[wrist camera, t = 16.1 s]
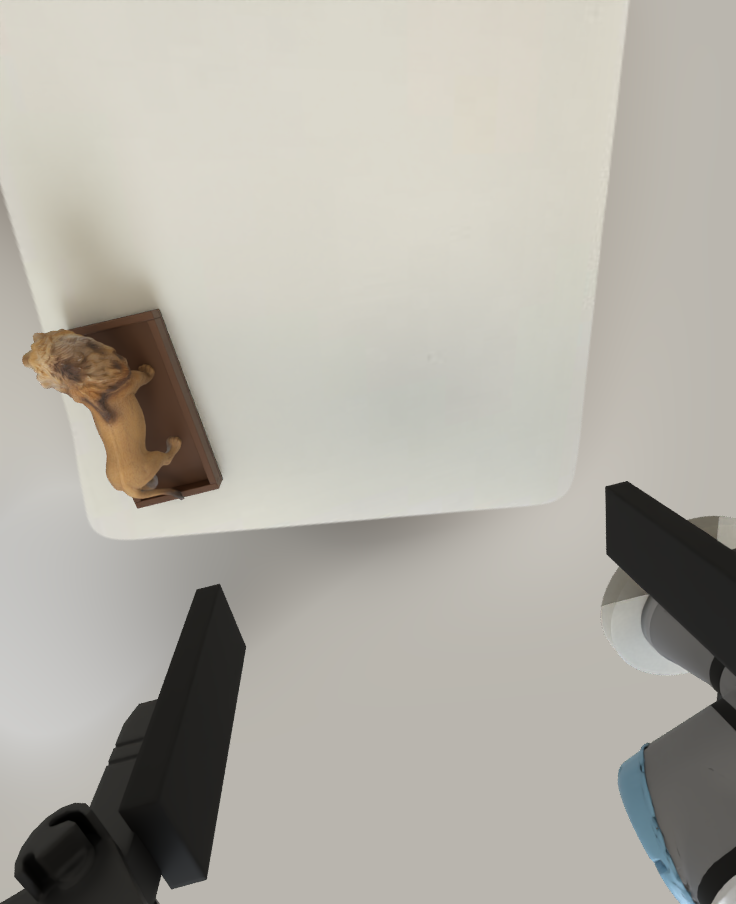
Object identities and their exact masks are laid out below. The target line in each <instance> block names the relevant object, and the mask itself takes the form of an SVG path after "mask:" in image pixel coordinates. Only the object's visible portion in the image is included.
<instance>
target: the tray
mask: <svg viewBox="0 0 736 904" xmlns="http://www.w3.org/2000/svg"><path fill="white" fill-rule="evenodd" d="M69 331H73V332H74V333H75V334H80V335H82V336H84V337H90V338H93V339H94V340H95V341H97V342H101V343H103V344H104V345H107V346H109V347H112V348H114V349H115V350H116V353H117V354H118V355H121V356H123V357H124V358H126V360H127V363H128V364H127V365H128V366H129V367H130V370H131V371H132V370H134V371H139V369H138V368H139V366H142V365H144V364H146V365H150V366H151V367H153V368H154V371H155V374H154V376H153V378H152V379H151V381H150V382H148V383H147V384H144V385H142V386H141V387H139V389H138V390H137V392H136V393H135V397H136V399H137V401H138V403H139V405H140V407H141V409H142V412H143V415H144V419H145V424H146V436H145V447H146V450H147V451H150V452H152V451H160V452H163V453H166V451H167V443H166V442H167V439H168V438H169V437H171V436H178V437H179V438H180V439H181V441H182V444H181V447H180V449H179V451H178V452H177V453H176V454H175V455H174V457H173V459H172V461H171V462H170V464H168V465H163V466H162V467H161V468H160V469H159V471H158V472H157V473H156V476H157V478H158V484H157V486H156V488H155V489H162V488H171V489H176V490H178V491H180V492H181V493H182V495H183V497H187V496H191V495H195V494H199V493H203V492H207V491H211V490H215V489H219V487H220V484H221V482H222V480H223V479H222V476H221V473H220V471H219V468H218V465H217V463H216V460H215V457H214V455H213V452H212V449H211V447H210V444H209V441H208V438H207V436H206V433H205V430H204V428H203V425H202V422H201V420H200V417H199V414H198V412H197V409H196V406H195V404H194V401H193V398H192V396H191V393H190V390H189V388H188V385H187V382H186V380H185V377H184V374H183V372H182V369H181V366H180V364H179V361H178V358H177V356H176V353H175V350H174V348H173V345H172V342H171V339H170V337H169V334H168V331H167V329H166V326H165V323H164V321H163V318H162V315H161V313H160V310H159V309H156V310H152V311H148V312H143V313H139V314H135V315H130V316H126V317H122V318H117V319H113V320H109V321H104V322H100V323H96V324H92V325H87V326H83V327H79V328H74V329H70V330H69ZM132 498H133V497H132ZM174 499H178V498H176V497H173V496H171V495H164V494H162V495H157V496H153V497H149V498H144V499H138V498H133V500H134V502H135V504H136V507H137V508H142V507H146V506H150V505H154V504H158V503H162V502H166V501H170V500H174Z"/></svg>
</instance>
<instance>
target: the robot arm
mask: <svg viewBox="0 0 736 904" xmlns="http://www.w3.org/2000/svg"><path fill="white" fill-rule="evenodd" d="M605 493H606V550H607V551H606V552H607V555H608V556H609V557H610V558H611V559H612V560H613V561H614V562H615V563H616V564H617V565H618V566H620V567H621V568H622V569H623V570H624V571H625V572H626V573H627V574H628V575H629V576H630V577H631V578H632V579H633V580H634V581H635V582H636V583H637V584H639V585H640V586H641V587H642V588H643V589H644V590H645V591H646V592H647V593H648V594H649V596H648V598H647V600H646V602H645V604H644V607H643V610H642V615H641V628H642V632H643V635H644V637H645V638H646V640H647V641H648V642H649V643H650V644H651V646H652V647H653V648H654V649H655V650H656V651H657V652H658V653H659V654H660V655H662V656H663V657H664V658H666V659H667V660H669V661H671V662H673V663H675V664H677V665H679V666H680V667H682V668H684V669H685V670H687V671H688V672H690V673H691V674H693V675H695V676H696V677H698V678H700V679H701V680H703V681H705V682H706V683H708V684H709V685H711V686H712V687H713V688H714V689H715V690H716V691H717V692H718V694H717V701H716V702H715V703H713V704H711V705H709V706H708V707H706V708H705V709H703V710H702V711H700V712H699V713H697V714H695V715H694V716H693V717H691V718H689V719H688V720H686V721H685V722H683V723H681V724H680V725H678V726H677V727H675V728H674V729H672V730H671V731H669V732H667V733H666V734H664V735H663V736H661V737H660V738H658V739H656V740H655V741H653V742H652V743H646V744H644V745H643V746H642V747H641V750H640V751H639V752H638V753H636V754H635V755H634V756H632V757H631V758H629V759H628V760H627V761H625V762H624V763H623V764H622V765H621V767H620V769H619V773H618V786H619V791H620V795H621V798H622V801H623V803H624V807H625V809H626V812H627V814H628V816H629V819H630V821H631V823H632V825H633V827H634V829H635V831H636V833H637V835H638V837H639V839H640V841H641V843H642V845H643V847H644V849H645V851H646V852H647V854H648V856H649V858H650V859H651V860H652V861H653V862H654V863H655V866H656V868H657V870H658V872H659V874H660V876H661V877H662V879H663V881H664V882H665V884H666V885H667V887H668V888H669V890H670V891H671V892H672V894H673V895H674V896H675V898H676V899H677V900H678V901H679V903H681V904H736V548H735V549H730V548H729V547H727V546H726V545H724V544H722V543H721V542H719V541H718V540H716V539H715V538H713V537H712V536H710V535H709V534H707V533H706V532H704V531H703V530H701V529H700V528H698V527H697V526H695V525H693V524H692V523H690V522H689V521H687V520H686V519H684V518H683V517H681V516H680V515H678V514H677V513H675V512H674V511H672V510H671V509H669V508H667V507H666V506H664V505H663V504H661V503H660V502H658V501H657V500H655V499H654V498H652V497H651V496H649V495H648V494H646V493H644V492H643V491H642V490H640V489H639V488H637V487H635V486H634V485H632V484H631V483H629V482H628V481H626V482H622V483H618V484H614V485H610V486H606V487H605ZM245 650H246V646H245V643H244V641H243V638H242V636H241V634H240V631H239V629H238V627H237V624H236V621H235V619H234V617H233V614H232V612H231V610H230V607H229V605H228V602H227V600H226V598H225V595H224V593H223V591H222V588H221V585H220V584H217V585H213V586H209V587H205V588H201V589H197V590H196V593H195V596H194V599H193V601H192V604H191V607H190V610H189V613H188V615H187V618H186V621H185V624H184V627H183V629H182V632H181V635H180V638H179V641H178V643H177V646H176V649H175V652H174V655H173V658H172V660H171V663H170V666H169V669H168V672H167V674H166V677H165V680H164V683H163V686H162V688H161V691H160V694H159V697H158V699H157V700H153V701H149V702H145V703H141V704H139V705H138V706H137V707H136V709H135V710H134V711H133V712H132V714H131V715H130V716H129V718H128V719H127V720H126V722H125V723H124V725H123V727H122V730H121V732H120V735H119V737H118V739H117V742H116V748H114V749H113V752H112V754H111V756H110V759H109V765H108V766H106V769H105V771H104V774H103V776H102V778H101V781H100V783H99V786H98V788H97V791H96V793H95V796H94V798H93V800H92V803H91V805H90V807H89V806H88V805H87V804H86V803H73V804H71V805H68V806H65V807H62V808H61V809H59V810H57V811H56V812H54V813H53V814H51V815H50V816H49V817H47V818H46V819H45V820H44V821H43V822H42V823H41V824H40V825H39V826H38V827H37V828H36V829H35V830H34V831H33V832H32V833H31V835H30V836H29V838H28V839H27V841H26V842H25V843H24V845H23V846H22V848H21V850H20V852H19V855H18V857H17V860H16V862H15V873H14V874H15V875H14V877H15V878H16V879H17V880H18V881H19V883H20V884H21V885H22V886H23V887H24V888H25V889H23V890H22V891H20V892H18V893H17V894H15V895H13V896H12V897H10V898H8V899H7V900H5V901H3V902H1V903H0V904H159V902H158V901H157V899H156V894H157V890H158V886H159V882H160V878H161V875H162V876H163V878H164V879H165V881H166V882H167V883H168V885H169V887H170V888H171V889H174V888H178V887H182V886H185V885H189V884H193V883H196V882H200V881H204V880H206V879H207V874H208V868H209V862H210V856H211V850H212V845H213V839H214V833H215V826H216V821H217V815H218V809H219V803H220V798H221V792H222V785H223V780H224V774H225V768H226V762H227V756H228V750H229V744H230V738H231V732H232V727H233V721H234V714H235V709H236V703H237V697H238V691H239V685H240V679H241V674H242V668H243V662H244V656H245Z"/></svg>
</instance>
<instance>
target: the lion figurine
mask: <svg viewBox="0 0 736 904" xmlns="http://www.w3.org/2000/svg"><path fill="white" fill-rule="evenodd" d="M33 340H34V343H33V344H32V345H31V349H32V350H31V351H29V352H28V353H26V354H25V355H24V356H23V359H22V361H23V364H24V365H25V366H26V367H28V368H32V369H34V372H36V373H37V380H38V381H39V382H40V383H41V385H42V386H43V388H46V389H48V388H54V389H56V390H57V391H59V392H61V393H65V394H68V395H69V396H70V397H72V398H73V400H74V401H75V402H78V403H83V404H84V405H85V406H86V407H87V408H89V409H90V411H91V413H92V416H93V419H94V422H95V425H96V428H97V430H98V433H99V435H100V437H101V439H102V441H103V443H104V446H105V449H106V454H107V462H106V475H107V478H108V480H109V481H110V483H111V484H112V486H113V487H114V488H115V489H116V490H120V491H124V492H125V493H126V494H127V495H129V496H131V497H133V498H138V499H144V498H149V497H153V496H157V495H162V494H164V495H171V496H173V497H176V498H178V499H180V500H183V499H184V497H183V495H182V493H181V492H180V491H178V490H176V489H171V488H162V489H155V488H156V486H157V484H158V478H157V476H156V473H157V472H158V471H159V469H160V468H161V467H162V466H163V465H168V464H170V462H171V461H172V459H173V457H174V455H175V454H176V453H177V452H178V451H179V449H180V447H181V444H182V441H181V439H180V438H179V437H178V436H171V437H169V438H168V439H167V442H166V443H167V451H166V453H163V452H160V451H152V452H150V451H147V450H146V447H145V436H146V424H145V419H144V415H143V412H142V409H141V407H140V405H139V403H138V401H137V399H136V397H135V393H136V392H137V390H138V389H139V387H141V386H142V385H144V384H147V383H148V382H150V381H151V379H152V378H153V376H154V374H155V371H154V368H153V367H151V366H150V365H146V364H144V365H142V366H139V368H138V369H139V371H134V370H132V371H131V370H130V367H129V366H128V365H127V364H128V363H127V360H126V358H124V357H123V356H121V355H118V354H117V353H116V350H115V349H114V348H112V347H109V346H107V345H104V344H103V343H101V342H97V341H95V340H94V339H93V338H90V337H84V336H82V335H80V334H75V333H74V332H73V331H69V330H64V329H60V330H58V331H50V332H48V333H35V334H34V335H33Z"/></svg>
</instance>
